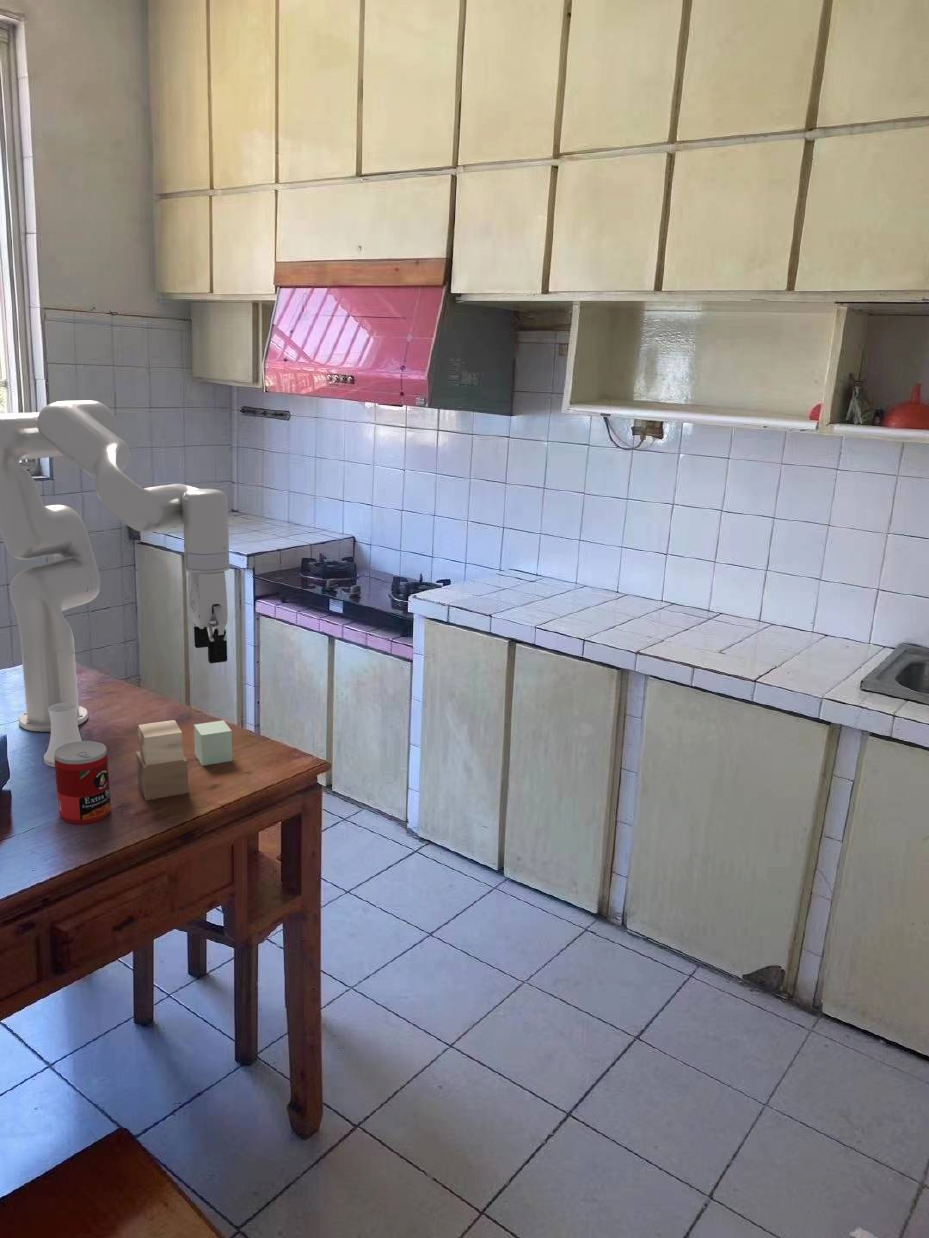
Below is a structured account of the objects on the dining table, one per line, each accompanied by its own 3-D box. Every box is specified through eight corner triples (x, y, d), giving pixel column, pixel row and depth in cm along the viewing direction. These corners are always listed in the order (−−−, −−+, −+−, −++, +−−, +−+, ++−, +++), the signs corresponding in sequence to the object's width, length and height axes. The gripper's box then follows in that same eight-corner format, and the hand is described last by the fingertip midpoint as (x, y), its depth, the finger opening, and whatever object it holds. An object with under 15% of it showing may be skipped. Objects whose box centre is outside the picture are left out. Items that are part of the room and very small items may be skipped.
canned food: (87, 829, 143) (82, 763, 140) (47, 818, 146) (42, 754, 143) (122, 808, 150) (118, 746, 147) (83, 798, 153) (78, 737, 150)
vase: (48, 770, 162) (44, 717, 159) (40, 755, 168) (36, 703, 165) (93, 762, 166) (89, 710, 163) (84, 747, 172) (80, 697, 169)
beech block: (139, 752, 157) (138, 724, 156) (175, 746, 160) (174, 719, 159) (146, 765, 152) (144, 737, 151) (183, 759, 155) (182, 732, 154)
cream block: (137, 783, 159) (136, 751, 157) (179, 776, 162) (177, 745, 161) (145, 800, 153) (143, 767, 151) (188, 793, 156) (187, 760, 155)
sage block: (195, 754, 171) (193, 724, 170) (224, 749, 174) (223, 720, 172) (202, 766, 167) (201, 735, 165) (232, 760, 169) (231, 730, 168)
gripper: (174, 553, 166) (178, 643, 170) (197, 572, 151) (201, 671, 156) (215, 550, 169) (218, 639, 174) (242, 569, 155) (245, 665, 159)
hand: (210, 654), depth 165 cm, fingers open, 9 cm apart
